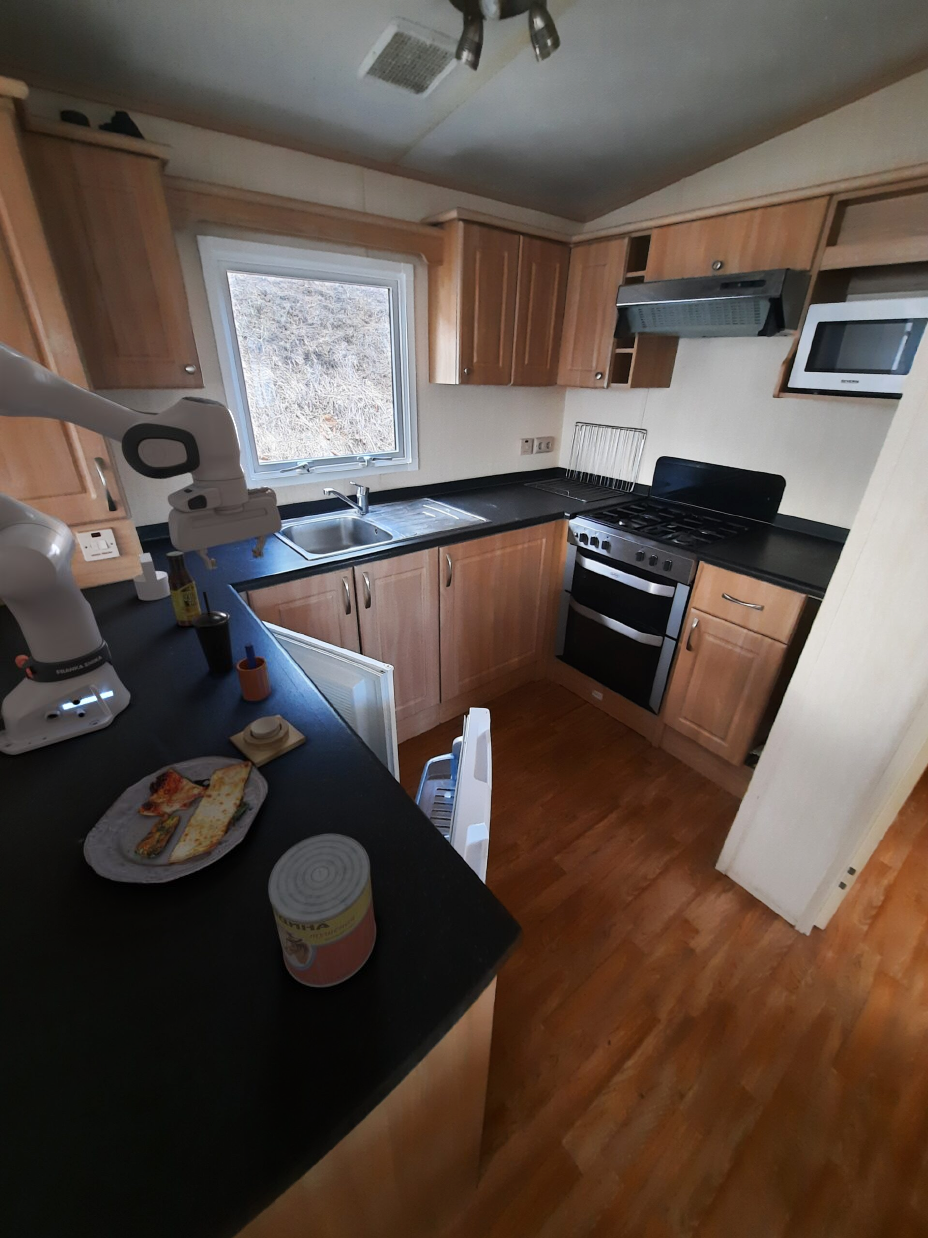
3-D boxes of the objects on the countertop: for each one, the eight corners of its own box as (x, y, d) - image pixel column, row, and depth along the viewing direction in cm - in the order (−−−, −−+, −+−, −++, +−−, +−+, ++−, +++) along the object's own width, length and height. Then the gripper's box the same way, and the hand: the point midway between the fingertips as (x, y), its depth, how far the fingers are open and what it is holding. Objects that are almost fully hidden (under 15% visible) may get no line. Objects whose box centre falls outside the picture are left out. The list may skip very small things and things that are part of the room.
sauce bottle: (192, 628, 137) (175, 558, 128) (172, 626, 138) (153, 556, 129) (208, 618, 143) (192, 550, 134) (188, 615, 144) (172, 548, 135)
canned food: (263, 953, 62) (246, 888, 56) (330, 881, 70) (321, 819, 65) (330, 1008, 56) (318, 943, 51) (394, 924, 65) (389, 860, 60)
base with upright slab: (173, 596, 155) (164, 559, 150) (139, 602, 151) (128, 564, 146) (169, 586, 162) (160, 550, 157) (137, 592, 158) (126, 555, 152)
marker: (256, 695, 108) (246, 647, 103) (252, 693, 109) (243, 644, 104) (263, 692, 110) (254, 644, 104) (259, 689, 110) (250, 641, 105)
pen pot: (251, 706, 106) (244, 674, 103) (238, 695, 110) (231, 663, 106) (276, 694, 110) (271, 663, 106) (263, 684, 113) (257, 653, 110)
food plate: (158, 762, 91) (153, 746, 89) (287, 766, 90) (284, 751, 89) (53, 890, 68) (44, 873, 67) (223, 897, 68) (218, 880, 66)
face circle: (260, 743, 92) (258, 737, 91) (247, 731, 95) (245, 724, 94) (285, 731, 95) (284, 724, 94) (272, 719, 98) (270, 713, 97)
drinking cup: (198, 670, 118) (178, 592, 109) (231, 658, 123) (214, 582, 114) (212, 683, 113) (193, 602, 104) (245, 670, 118) (229, 592, 109)
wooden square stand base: (256, 768, 90) (253, 755, 88) (230, 742, 96) (227, 729, 94) (306, 741, 96) (304, 729, 95) (279, 719, 102) (277, 706, 101)
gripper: (266, 482, 103) (276, 547, 109) (157, 497, 89) (175, 571, 95) (282, 487, 99) (291, 554, 105) (171, 504, 85) (189, 580, 91)
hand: (235, 562), depth 100 cm, fingers open, 8 cm apart
